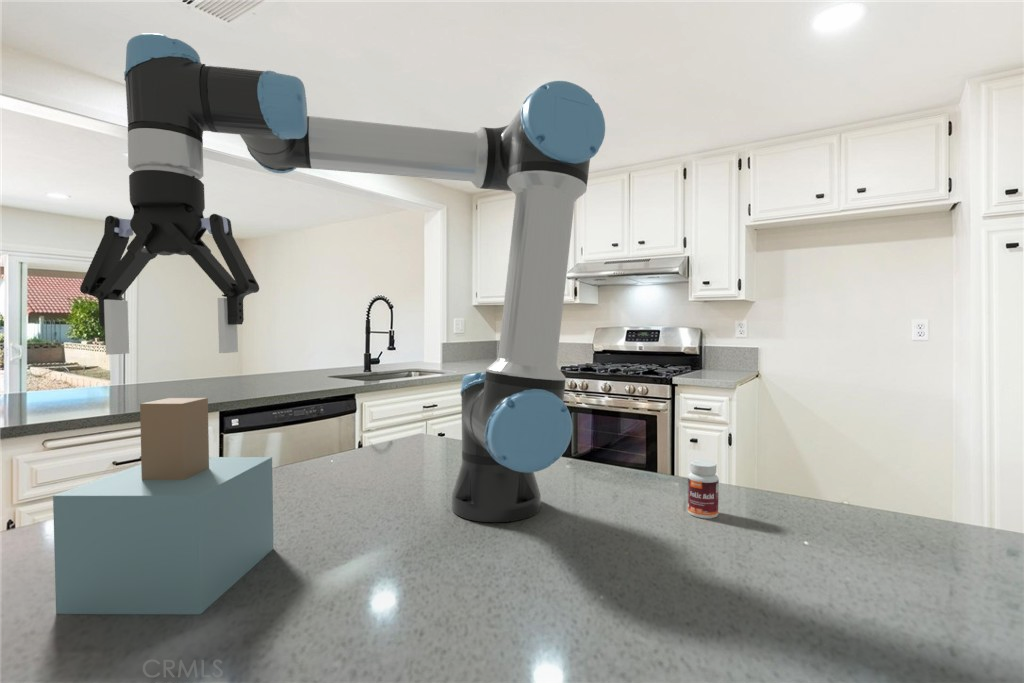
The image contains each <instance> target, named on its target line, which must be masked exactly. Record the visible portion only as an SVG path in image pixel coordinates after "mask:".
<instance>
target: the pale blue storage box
mask: <svg viewBox="0 0 1024 683" xmlns="http://www.w3.org/2000/svg"><path fill="white" fill-rule="evenodd" d="M139 413H140V414H139V417H140V420H139V421H140V458H141V459H140V464H138V465H134V466H132V467H129V468H127V469H123V470H120V471H118V472H116V473H113V474H110V475H107V476H105V477H101V478H99V479H96V480H93V481H91V482H88V483H84V484H82V485H79V486H76V487H73V488H71V489H68V490H66V491H62V492H59V493H56V494H54V495H52V506H53V508H52V509H53V510H52V511H53V538H54V539H53V540H54V541H53V544H54V546H53V547H54V549H53V550H54V582H55V585H54V586H55V588H54V590H55V614H56V615H201V614H203V613H204V612H205V611H206V610H207V609H208V608H209V607H210V606H211V605H213V604H214V603H215V602H216V601H217V600H219V598H221V597H222V595H224V594H225V593H226V592H227V591H228V590H230V589H231V588H232V587H233V586H234V585H235V584H236V583H237V582H238V581H240V580H241V578H243V577H244V576H245V575H246V574H247V573H248V572H249V571H251V569H253V568H254V567H255V566H256V565H257V564H258V563H259V562H261V561H262V559H264V558H265V557H266V556H268V555H269V553H270V552H272V551H273V550H274V495H273V493H274V492H273V491H274V490H273V489H274V487H273V486H274V485H273V482H274V481H273V456H236V457H235V456H229V457H228V456H220V457H219V456H218V457H217V456H216V457H215V456H211V457H210V451H209V450H210V449H209V448H210V446H209V445H210V444H209V442H210V441H209V439H210V438H209V437H210V436H209V398H208V397H168V398H162V399H158V400H153V401H152V400H151V401H146V402H142V403H140V404H139Z"/></svg>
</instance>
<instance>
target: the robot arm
mask: <svg viewBox="0 0 1024 683" xmlns="http://www.w3.org/2000/svg"><path fill="white" fill-rule="evenodd" d="M125 50H126V53H125V54H126V55H125V71H124V72H123V74H124V75H123V76H124V79H123V80H124V81H125V93H126V94H125V96H126V97H125V98H126V112H127V113H126V114H127V166H128V168H129V169H130V170H131V171H133V172H131V173H130V174H129V175H128V186H129V189H128V191H129V202H130V204H131V206H132V208H133V209H132V210H133V214H132V217H131V219H126V218H121V217H117V216H113V215H106V217H105V220H104V229H103V230H104V231H103V235H102V238H101V241H100V243H99V245H98V247H97V249H96V251H95V253H94V256H93V258H92V260H91V263H90V264H89V267H88V269H87V271H86V272H85V276H84V278H83V280H82V282H81V284H80V287H79V290H80V292H81V294H84V295H89V296H92V297H94V298H96V299H97V301H98V313H99V314H98V316H99V318H98V320H99V322H98V323H99V324H100V327H104V337H105V338H104V339H105V356H106V355H108V356H109V355H124V354H125V355H126V354H130V339H129V338H130V336H129V334H130V332H129V307H128V306H129V305H128V300H125V298H123V295H124V294H125V293H126V291H127V290H128V288H129V287H130V286H131V285H132V284H133V282H135V280H136V279H137V278H138V276H139V275H140V274H141V272H142V271H143V270H144V269H145V267H146V266H147V265H148V263H149V262H150V261H151V260H154V259H155V258H156V257H157V256H158V255H160V256H171V255H179V256H190V257H191V258H192V259H193V260H194V262H195V263H196V264H197V265H198V266H199V267H200V268H201V269H202V271H203V272H204V273H205V274H206V275H207V276H208V278H209V279H210V280H211V281H212V282H213V283H214V284H215V285H216V287H217V288H218V289H219V290H220V291H221V292H222V293H223V294H221V296H222V297H218V298H217V321H218V322H217V324H218V327H217V328H218V353H219V354H229V353H230V354H231V353H238V352H239V344H238V325H243V323H244V320H245V318H244V298H245V297H246V296H249V295H251V294H255V293H258V292H259V290H260V286H259V284H258V281H257V280H256V278H255V276H254V273H253V272H252V270H251V268H250V266H249V264H248V263H247V260H246V259H245V256H244V255H243V253H242V251H241V249H240V247H239V245H238V243H237V241H236V239H235V238H234V235H233V230H232V229H233V228H232V223H231V222H232V221H231V219H229V218H227V217H226V216H223V215H220V214H217V213H212V214H210V215H209V217H205V216H204V211H205V209H206V208H205V207H206V206H205V205H206V204H205V184H204V183H203V182H202V180H201V179H202V178H203V177H204V146H203V145H204V142H203V140H204V138H203V135H204V132H211V133H217V134H230V135H231V134H233V135H238V136H240V137H241V139H242V140H243V142H244V143H245V145H246V148H247V151H248V152H249V155H250V156H251V157H252V158H253V159H254V160H255V161H256V163H258V164H259V165H260V166H261V167H262V168H263V169H265V170H267V171H268V172H271V173H274V174H281V175H282V174H287V173H288V174H289V173H290V172H293V171H295V170H297V169H312V170H322V171H337V172H347V173H348V172H349V173H360V174H361V173H362V174H374V175H376V174H377V175H387V176H397V177H412V178H424V179H426V178H427V179H436V180H449V181H461V182H471V183H472V184H473V186H474V187H475V188H476V189H479V190H480V189H483V190H495V191H503V192H513V194H514V195H515V202H514V211H513V218H512V227H511V228H512V229H511V237H510V246H509V255H508V264H507V274H506V281H505V282H506V284H505V291H504V300H503V308H502V309H503V310H502V319H501V327H500V335H499V346H498V354H497V358H496V360H495V361H494V362H492V363H491V364H490V365H488V366H487V367H486V368H485V369H486V370H485V371H484V372H472V373H468V374H465V375H464V377H463V378H462V380H461V389H460V396H461V463H460V464H461V465H460V468H459V470H458V475H457V478H456V480H455V484H454V488H453V491H452V495H451V510H452V512H453V513H454V514H455V515H457V516H459V517H460V518H462V519H466V520H470V521H475V522H483V523H507V522H515V521H519V520H523V519H527V518H529V517H532V516H534V515H536V514H537V513H538V512H539V511H540V510H541V507H542V506H541V504H542V502H541V499H542V496H541V491H540V488H539V485H538V482H537V479H536V478H537V477H536V476H535V473H536V472H539V471H542V470H545V469H547V468H549V467H551V466H552V465H553V464H554V463H555V462H557V461H559V459H561V457H562V456H563V455H564V454H565V452H566V451H567V449H568V447H569V445H570V442H571V439H572V434H573V420H572V416H571V413H570V410H569V408H568V405H566V404H565V402H564V399H565V390H566V389H565V388H566V380H567V378H566V376H565V375H564V374H563V372H562V370H561V369H560V368H559V367H558V355H559V347H560V346H559V345H560V337H561V327H562V318H563V310H564V309H563V308H564V301H565V300H564V299H565V293H566V292H565V291H566V283H567V272H568V264H569V254H570V247H571V237H572V230H573V229H572V228H573V219H574V218H573V217H574V211H575V210H574V209H575V202H576V201H577V200H578V199H579V198H580V197H581V196H583V195H584V194H585V193H586V192H587V188H588V179H589V173H590V172H589V171H590V164H591V163H590V162H591V160H592V158H593V157H595V156H596V155H597V153H599V151H600V148H601V146H602V145H603V142H604V139H605V135H606V122H605V121H606V120H605V116H604V113H603V110H602V109H601V107H600V105H599V103H598V102H597V101H596V100H595V99H594V97H593V95H592V94H591V93H590V92H589V91H587V90H586V89H585V88H583V87H582V86H580V85H578V84H576V83H573V82H570V81H567V80H553V81H552V80H551V81H549V82H546V83H544V84H541V85H540V86H539V87H537V88H536V89H535V90H534V91H533V92H532V93H530V94H529V95H528V96H527V97H526V98H525V99H524V101H523V102H522V106H521V108H519V111H518V112H517V113H516V115H515V116H514V117H513V118H512V120H511V121H510V122H509V124H508V125H505V126H500V127H484V126H482V127H481V126H480V127H479V128H478V129H477V130H476V131H474V132H468V131H457V130H448V129H447V130H446V129H438V128H431V127H430V128H428V127H420V126H418V127H417V126H409V125H401V124H400V125H399V124H392V123H391V124H388V123H379V122H371V121H360V120H351V119H341V118H333V117H321V116H309V115H308V105H307V95H306V87H305V85H304V82H303V81H302V79H300V78H299V77H297V76H296V75H290V74H285V73H284V74H283V73H279V72H275V71H272V70H265V71H264V70H257V69H245V68H235V67H229V66H228V67H227V66H226V67H225V66H215V65H209V64H208V65H207V64H206V63H202V62H201V57H200V55H199V53H198V52H197V50H196V49H194V47H193V46H192V45H190V44H188V43H186V42H185V41H182V40H180V39H178V38H171V37H168V36H167V35H164V34H160V33H151V32H150V33H149V32H147V33H145V32H144V33H139V34H137V35H133V36H132V37H131V38H130V39H128V42H127V43H126V49H125ZM206 231H207V232H208V233H209V234H210V235H211V236H212V238H213V241H214V242H215V244H216V247H217V248H218V251H219V252H220V255H221V256H222V258H223V260H224V262H225V264H226V265H227V268H228V269H229V271H230V273H229V272H228V271H227V270H226V269H225V267H224V266H223V265H222V263H221V262H220V261H219V260H218V259H217V258H216V257H215V256H214V254H212V250H211V249H210V248H209V247H208V245H207V244H206V243H205V242H204V241H203V240H202V237H203V236H204V234H205V233H206ZM133 235H135V236H134V238H133V239H132V240H131V241H130V240H129V239H130V237H132V236H133ZM129 241H130V243H129ZM126 250H127V251H126ZM125 251H126V252H125ZM124 253H125V254H124Z"/></svg>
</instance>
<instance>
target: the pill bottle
mask: <svg viewBox="0 0 1024 683" xmlns="http://www.w3.org/2000/svg"><path fill="white" fill-rule="evenodd" d="M689 469H690V473H688V476H687V513H688V514H689V515H691V516H692V517H695V518H698V519H699V518H700V519H705V520H706V519H707V520H708V519H709V520H710V519H715V518H716V517H718V516H719V488H720V487H719V482H720V481H719V480H720V479H719V477H718V475H717V464H716V463H715V462H714V461H709V460H701V459H700V460H699V459H695V460H691V461H690V466H689Z"/></svg>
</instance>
